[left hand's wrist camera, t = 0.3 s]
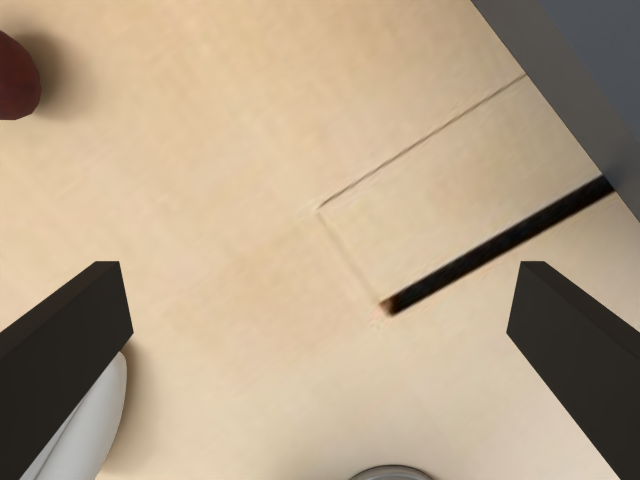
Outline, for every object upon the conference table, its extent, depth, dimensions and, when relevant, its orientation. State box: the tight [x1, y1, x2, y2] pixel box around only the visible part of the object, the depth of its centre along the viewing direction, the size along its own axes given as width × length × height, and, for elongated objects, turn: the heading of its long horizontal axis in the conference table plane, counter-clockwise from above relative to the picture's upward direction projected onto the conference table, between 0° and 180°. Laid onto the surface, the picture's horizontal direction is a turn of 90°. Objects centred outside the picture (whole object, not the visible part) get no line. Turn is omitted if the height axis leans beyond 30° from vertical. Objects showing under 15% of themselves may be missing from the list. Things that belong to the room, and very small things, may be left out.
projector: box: [20, 351, 127, 480], centre depth 42 cm, size 22×23×15 cm
